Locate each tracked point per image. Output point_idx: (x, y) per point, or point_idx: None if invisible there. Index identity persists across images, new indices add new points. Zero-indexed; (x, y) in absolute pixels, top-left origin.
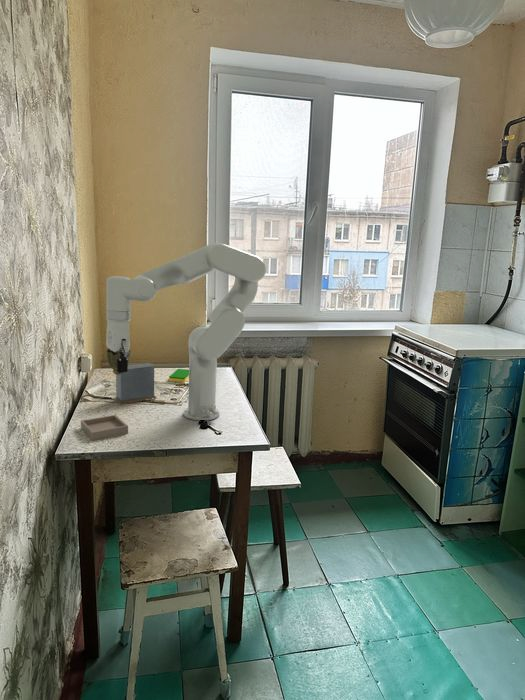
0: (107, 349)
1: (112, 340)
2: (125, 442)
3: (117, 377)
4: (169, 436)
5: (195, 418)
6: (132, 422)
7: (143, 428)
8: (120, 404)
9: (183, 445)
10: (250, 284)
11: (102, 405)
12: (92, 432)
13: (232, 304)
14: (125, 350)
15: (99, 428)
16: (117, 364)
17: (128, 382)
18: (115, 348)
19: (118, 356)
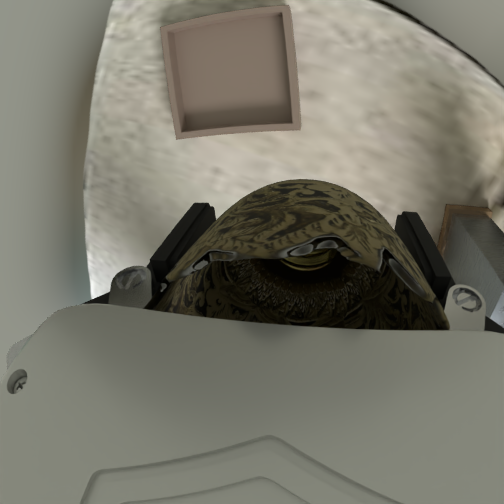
0: (422, 298)
1: (46, 487)
2: (131, 114)
3: None
4: (140, 224)
5: None
6: (271, 173)
7: (209, 185)
8: (446, 204)
9: (95, 230)
10: None
11: (469, 152)
12: (161, 28)
13: None
14: (9, 362)
15: (231, 56)
16: (175, 235)
17: (471, 275)
18: (27, 343)
19: (131, 298)
